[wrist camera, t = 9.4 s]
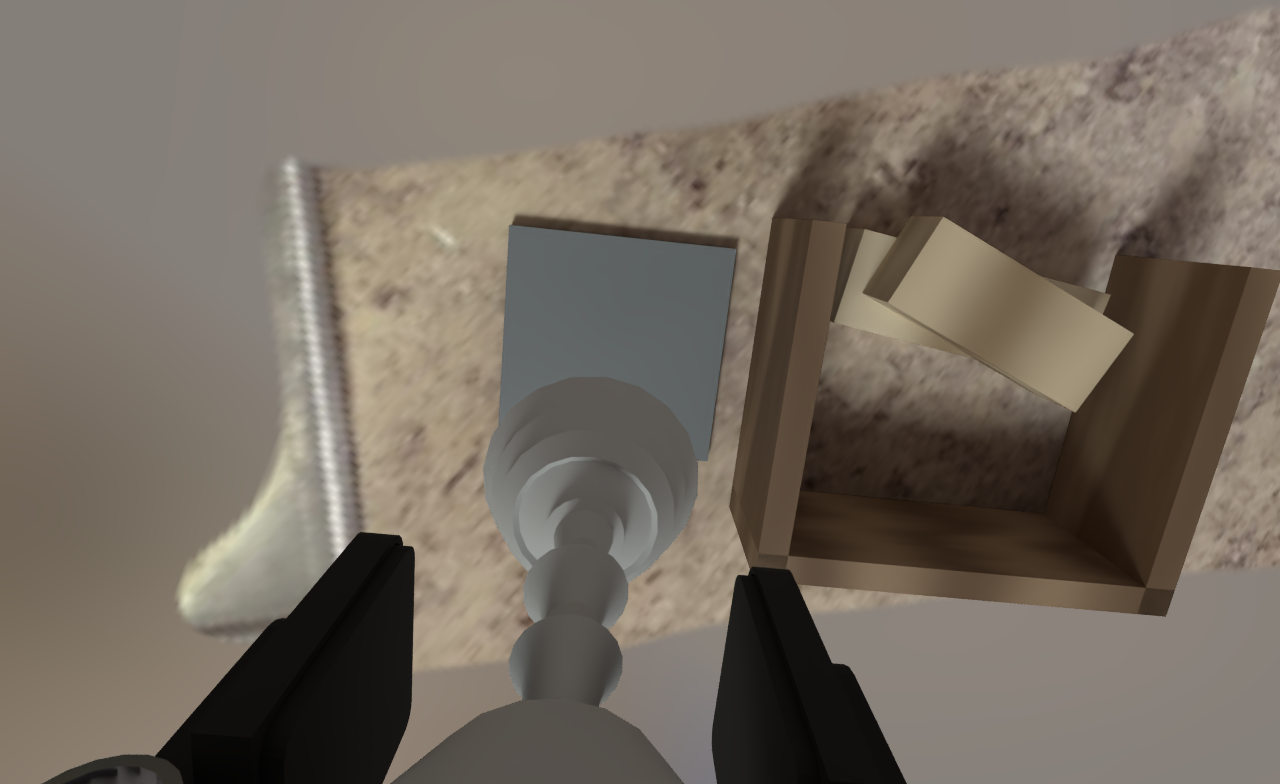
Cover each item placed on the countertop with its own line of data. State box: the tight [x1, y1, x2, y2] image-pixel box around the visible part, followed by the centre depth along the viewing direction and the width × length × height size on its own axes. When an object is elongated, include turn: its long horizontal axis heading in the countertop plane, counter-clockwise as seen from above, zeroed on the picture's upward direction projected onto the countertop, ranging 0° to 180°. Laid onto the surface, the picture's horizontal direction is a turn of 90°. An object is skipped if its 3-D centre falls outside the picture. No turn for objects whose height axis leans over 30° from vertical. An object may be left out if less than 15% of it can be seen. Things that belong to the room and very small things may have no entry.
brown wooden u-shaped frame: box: [729, 218, 1280, 617], centre depth 29 cm, size 17×14×7 cm
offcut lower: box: [830, 228, 1111, 358], centre depth 30 cm, size 11×4×3 cm, turn 76°
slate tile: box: [499, 225, 736, 461], centre depth 32 cm, size 10×10×1 cm
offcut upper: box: [862, 216, 1134, 413], centre depth 27 cm, size 9×4×3 cm, turn 61°
